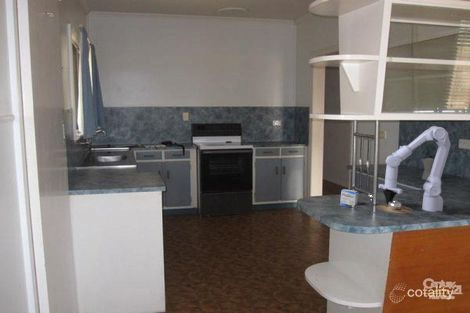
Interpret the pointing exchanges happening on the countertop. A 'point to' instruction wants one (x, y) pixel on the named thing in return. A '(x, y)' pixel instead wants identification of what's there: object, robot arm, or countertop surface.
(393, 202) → the metal cover
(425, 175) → the coffeepot
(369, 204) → the dial gauge
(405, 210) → the turntable
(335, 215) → the countertop surface
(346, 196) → the medicine box
